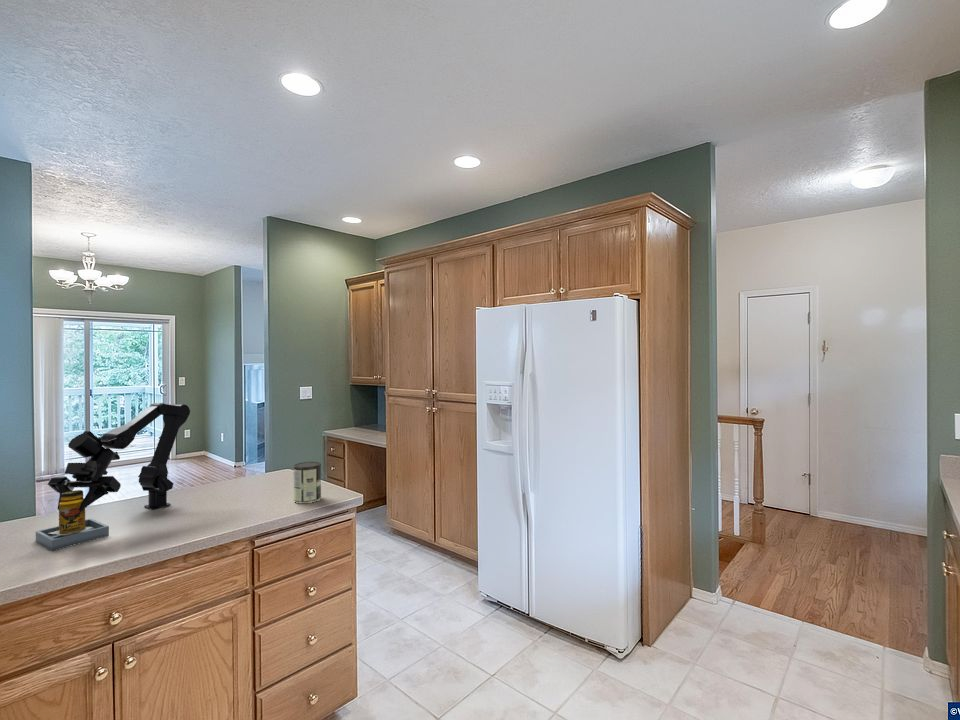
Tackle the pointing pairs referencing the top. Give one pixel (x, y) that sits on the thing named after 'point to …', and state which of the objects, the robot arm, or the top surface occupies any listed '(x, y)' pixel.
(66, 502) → the condiment
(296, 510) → the top surface
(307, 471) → the coffee can
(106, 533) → the bin
